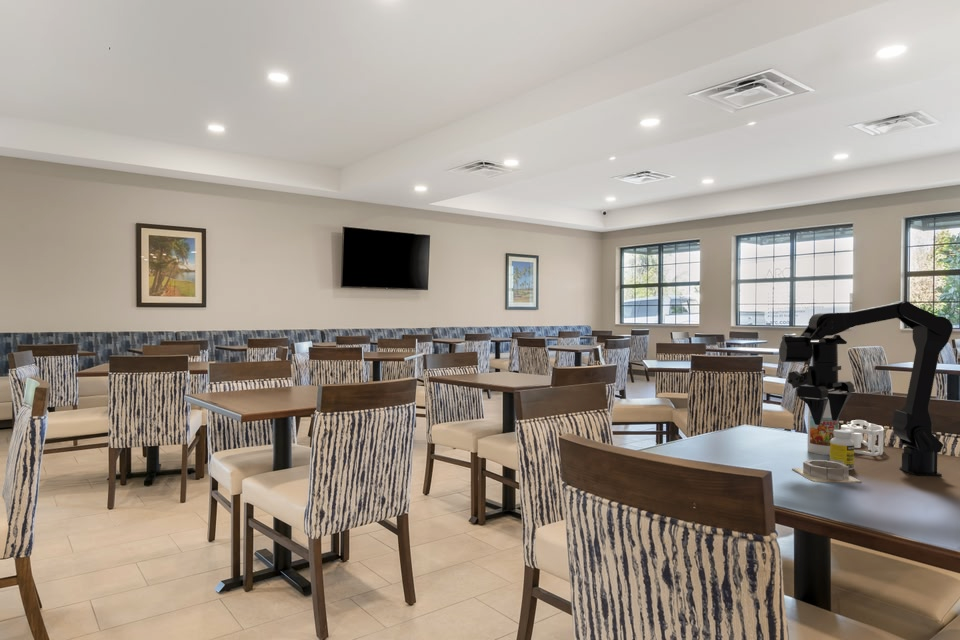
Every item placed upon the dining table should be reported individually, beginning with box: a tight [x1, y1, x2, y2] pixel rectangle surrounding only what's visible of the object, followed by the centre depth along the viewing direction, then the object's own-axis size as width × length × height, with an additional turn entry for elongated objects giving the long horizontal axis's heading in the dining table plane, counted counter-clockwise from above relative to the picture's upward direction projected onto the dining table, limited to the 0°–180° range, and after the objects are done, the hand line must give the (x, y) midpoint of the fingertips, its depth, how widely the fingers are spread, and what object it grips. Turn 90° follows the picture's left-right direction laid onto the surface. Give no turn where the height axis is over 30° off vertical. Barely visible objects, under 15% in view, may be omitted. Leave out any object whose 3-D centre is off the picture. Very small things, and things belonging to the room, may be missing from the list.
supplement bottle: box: [829, 429, 855, 470], centre depth 157 cm, size 5×5×10 cm
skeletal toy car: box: [840, 419, 885, 457], centre depth 180 cm, size 20×11×7 cm, turn 146°
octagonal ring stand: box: [791, 459, 863, 484], centre depth 147 cm, size 11×11×3 cm
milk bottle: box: [807, 398, 839, 456], centre depth 175 cm, size 8×8×20 cm
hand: (826, 422), depth 155 cm, fingers open, 9 cm apart
